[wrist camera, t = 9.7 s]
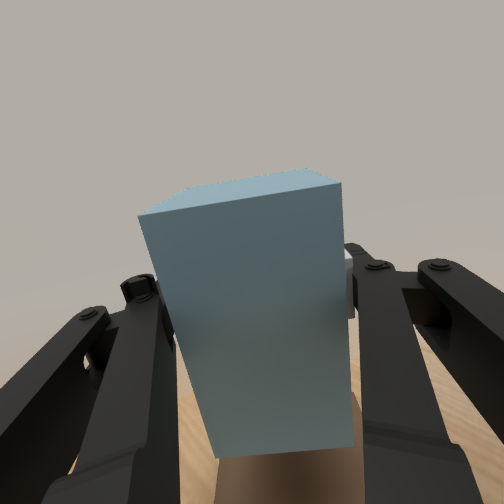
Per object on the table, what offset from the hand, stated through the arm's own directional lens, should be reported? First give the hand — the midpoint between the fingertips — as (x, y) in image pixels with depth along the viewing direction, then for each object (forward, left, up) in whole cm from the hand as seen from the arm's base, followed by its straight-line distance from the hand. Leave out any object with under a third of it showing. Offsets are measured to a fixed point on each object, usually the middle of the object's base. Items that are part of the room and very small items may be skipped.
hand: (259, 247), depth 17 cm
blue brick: (0, +5, -7) cm, 8 cm away
